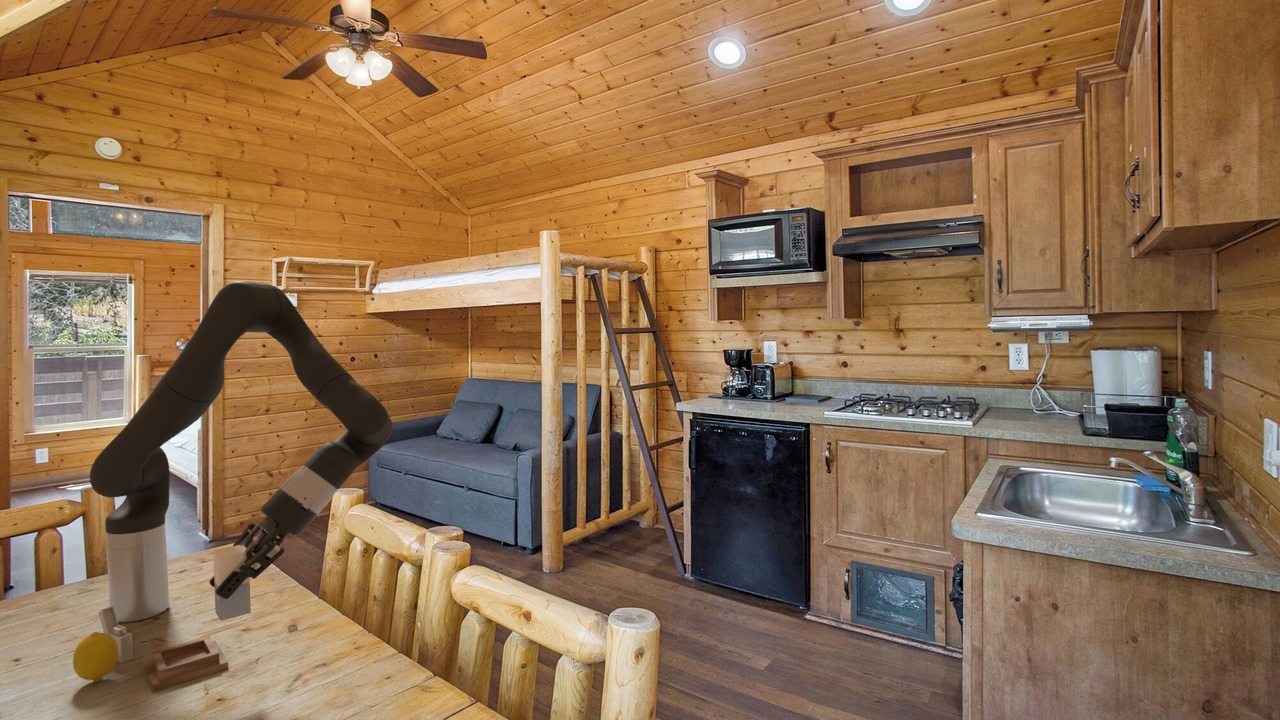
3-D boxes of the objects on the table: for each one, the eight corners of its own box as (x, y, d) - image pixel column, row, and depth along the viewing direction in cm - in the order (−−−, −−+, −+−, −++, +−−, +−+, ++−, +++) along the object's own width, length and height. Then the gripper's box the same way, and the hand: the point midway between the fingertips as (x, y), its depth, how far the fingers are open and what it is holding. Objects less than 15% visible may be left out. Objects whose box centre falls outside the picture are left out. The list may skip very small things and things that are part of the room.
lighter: (133, 658, 110) (131, 612, 109) (121, 662, 108) (119, 616, 108) (112, 648, 113) (109, 604, 112) (100, 653, 111) (97, 608, 111)
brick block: (215, 612, 101) (213, 550, 101) (244, 604, 104) (242, 544, 104) (220, 621, 99) (218, 557, 98) (250, 613, 101) (248, 550, 101)
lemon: (93, 692, 99) (90, 642, 99) (65, 688, 100) (62, 639, 100) (128, 673, 105) (126, 625, 104) (101, 670, 106) (98, 622, 105)
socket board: (144, 667, 107) (143, 652, 107) (215, 646, 114) (215, 632, 113) (152, 691, 99) (152, 676, 99) (228, 667, 106) (227, 653, 106)
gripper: (270, 479, 111) (187, 566, 103) (295, 495, 100) (205, 594, 93) (304, 503, 114) (227, 589, 107) (331, 522, 104) (248, 618, 97)
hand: (217, 590), depth 100 cm, fingers closed on brick block, 4 cm apart
